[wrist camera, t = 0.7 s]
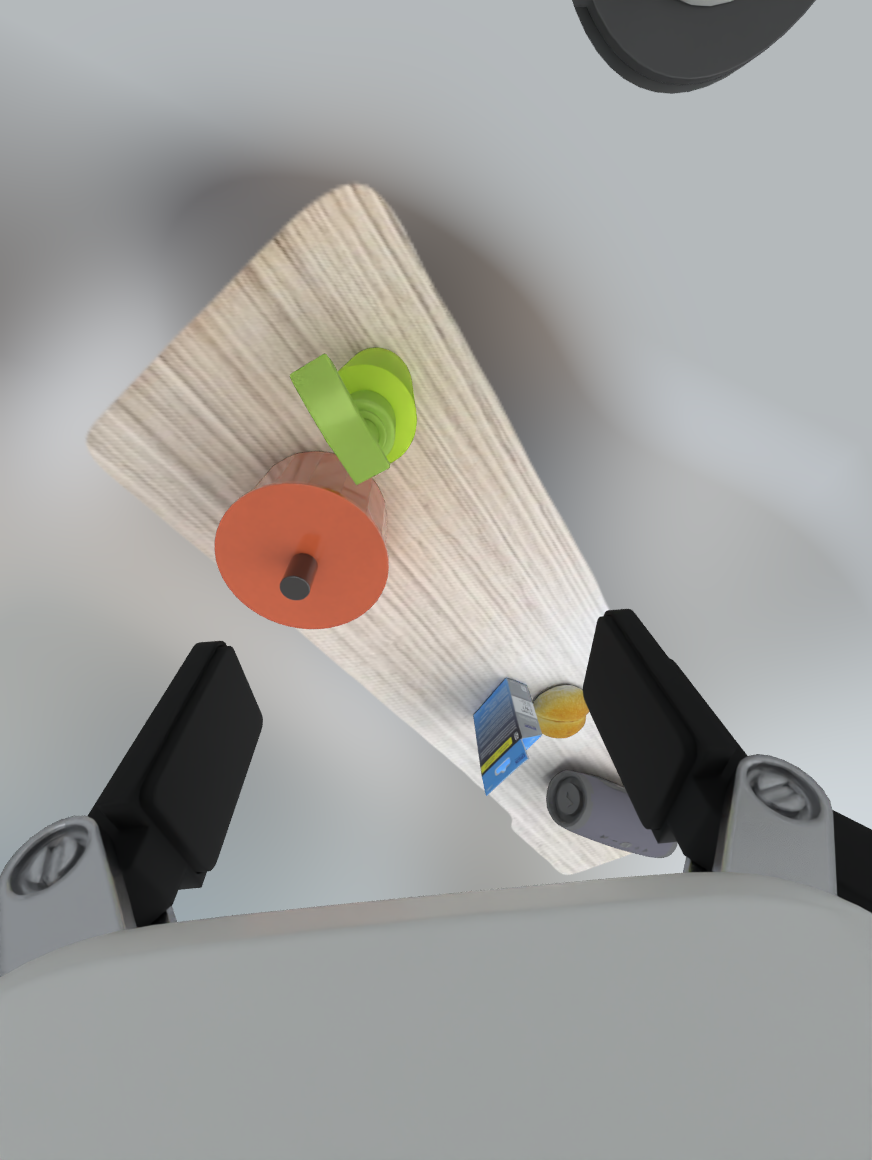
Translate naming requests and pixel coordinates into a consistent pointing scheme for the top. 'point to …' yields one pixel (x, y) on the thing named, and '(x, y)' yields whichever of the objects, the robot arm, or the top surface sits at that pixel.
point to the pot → (330, 481)
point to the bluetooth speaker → (601, 814)
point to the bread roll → (561, 711)
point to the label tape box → (505, 732)
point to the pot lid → (301, 555)
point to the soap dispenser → (361, 408)
